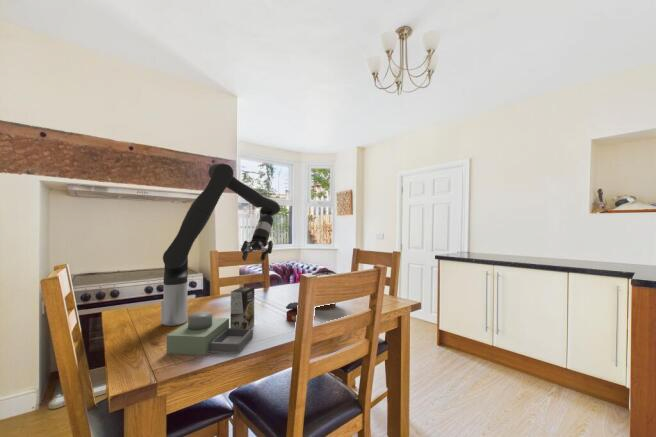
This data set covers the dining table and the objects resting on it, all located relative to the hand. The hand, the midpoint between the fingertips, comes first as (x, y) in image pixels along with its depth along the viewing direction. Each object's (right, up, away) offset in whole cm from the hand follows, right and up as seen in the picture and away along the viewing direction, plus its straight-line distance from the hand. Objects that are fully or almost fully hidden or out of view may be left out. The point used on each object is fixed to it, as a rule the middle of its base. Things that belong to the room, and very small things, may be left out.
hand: (252, 259), depth 129 cm
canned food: (+20, -27, +1) cm, 34 cm away
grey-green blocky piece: (-7, -26, -26) cm, 38 cm away
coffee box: (-1, -27, -11) cm, 29 cm away
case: (+32, -27, +18) cm, 45 cm away
